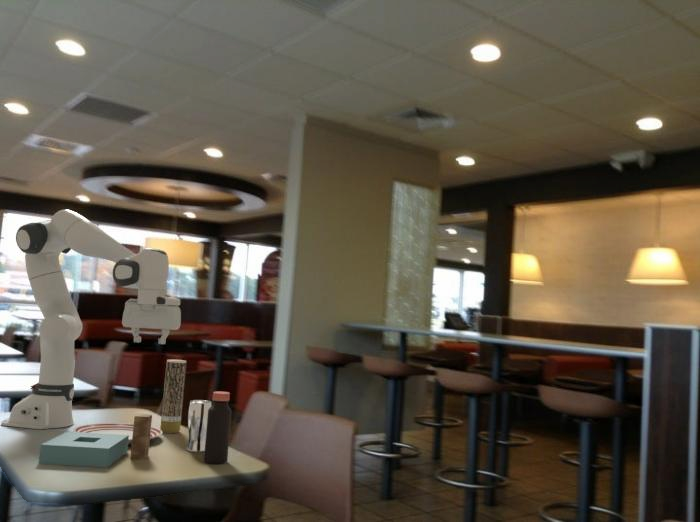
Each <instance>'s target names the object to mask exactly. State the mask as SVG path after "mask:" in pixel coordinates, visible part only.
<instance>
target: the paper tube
mask: <svg viewBox="0 0 700 522" xmlns="http://www.w3.org/2000/svg"><path fill="white" fill-rule="evenodd" d="M165 364H166V367H165V377H164V384H163V385H164V386H163V395H162V396H163V397H162V404H161V405H162V407H161V417H160V428H159V429H160V430H161V431H162V432H163V433H162V434H164V433H165V434H177V433H179V432H181V423H182V415H183V414H182V412H183V405H184V404H183V401H184V391H185V390H184V389H185V381H186V370H187V360H185V359H184V360H183V359H167V360H166V363H165Z"/></svg>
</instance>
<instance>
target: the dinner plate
mask: <svg viewBox="0 0 700 522" xmlns="http://www.w3.org/2000/svg"><path fill="white" fill-rule="evenodd" d="M133 427H134V423H125V422H100V423H98V422H97V423H88V424H82V425H78V426H75V427H74V428H73V429H72V432H83V433H100V434H116V435H129V439H128V446H132V437H133ZM163 434H164V433H163V432H162V431H161V430H160V428H159V427H158V428H157V427H155V426H151V432H150V441H151V440H153V439H156V438H157V437H160V436H162V435H163Z"/></svg>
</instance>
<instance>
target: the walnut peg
mask: <svg viewBox="0 0 700 522" xmlns="http://www.w3.org/2000/svg"><path fill="white" fill-rule="evenodd" d="M152 418H153V414H144V413H137V414H136V415H134V419H133V424H134V427H133V437H132V445H131V449H130V459H131V460H133V459H134V460H145V459H147V458H148V457H149V453H150V452H149V451H150V441H151V440H150V432H151V427H152V420H153V419H152Z"/></svg>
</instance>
